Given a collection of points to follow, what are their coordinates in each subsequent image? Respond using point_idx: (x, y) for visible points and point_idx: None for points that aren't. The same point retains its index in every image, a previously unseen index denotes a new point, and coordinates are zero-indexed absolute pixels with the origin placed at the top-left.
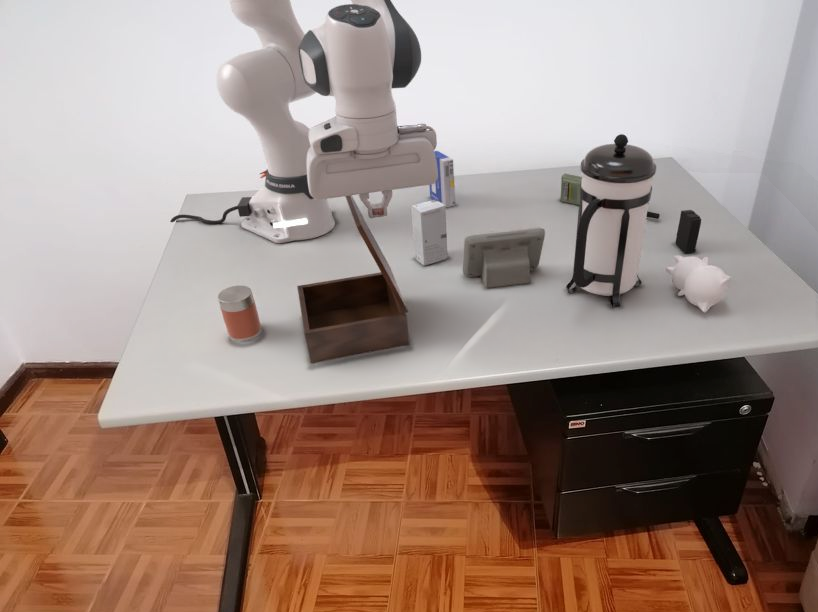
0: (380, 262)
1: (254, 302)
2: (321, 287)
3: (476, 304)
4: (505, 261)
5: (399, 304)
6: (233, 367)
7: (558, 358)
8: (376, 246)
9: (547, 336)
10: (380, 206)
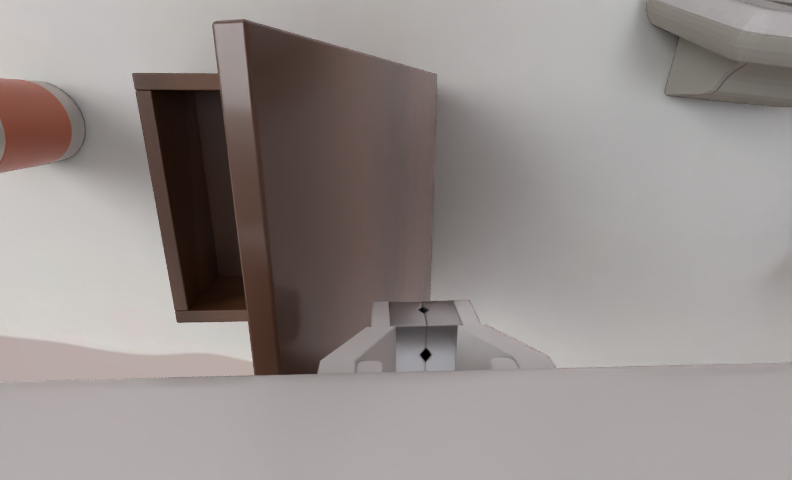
0: None
1: (9, 133)
2: (213, 90)
3: (607, 159)
4: (777, 84)
5: None
6: (43, 235)
7: None
8: (389, 248)
9: (678, 315)
10: (444, 369)
